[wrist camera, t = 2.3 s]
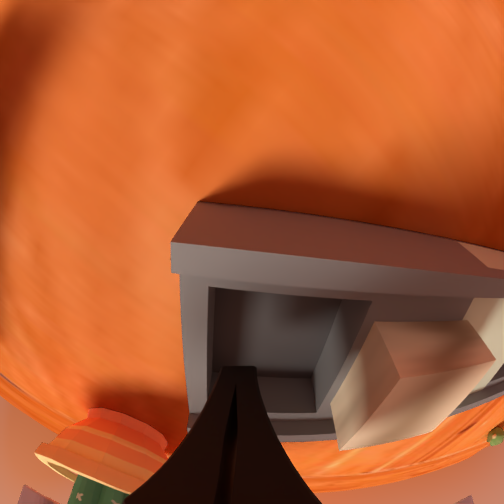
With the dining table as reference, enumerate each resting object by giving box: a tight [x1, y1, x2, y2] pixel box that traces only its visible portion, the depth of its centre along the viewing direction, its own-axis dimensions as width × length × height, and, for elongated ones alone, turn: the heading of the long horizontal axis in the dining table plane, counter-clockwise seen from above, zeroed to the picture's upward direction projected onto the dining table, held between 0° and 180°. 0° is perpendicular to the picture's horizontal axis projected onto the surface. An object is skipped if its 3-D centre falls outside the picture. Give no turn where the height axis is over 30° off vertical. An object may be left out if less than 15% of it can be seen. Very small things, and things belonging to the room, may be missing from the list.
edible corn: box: [487, 427, 504, 446], centre depth 32 cm, size 5×20×5 cm
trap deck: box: [171, 201, 504, 442], centre depth 12 cm, size 32×12×4 cm, turn 83°
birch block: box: [330, 320, 496, 451], centre depth 10 cm, size 6×6×3 cm
